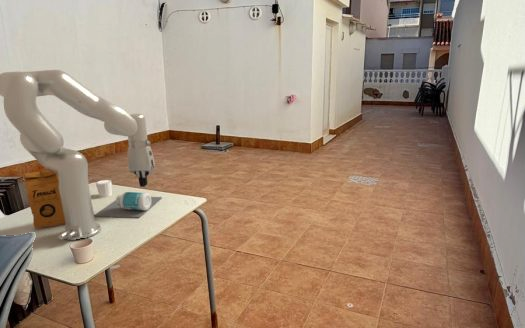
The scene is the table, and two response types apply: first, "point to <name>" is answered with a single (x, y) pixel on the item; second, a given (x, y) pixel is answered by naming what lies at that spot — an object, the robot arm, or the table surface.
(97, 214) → the mat
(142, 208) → the pill bottle
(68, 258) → the table surface
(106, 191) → the white ridged cylinder
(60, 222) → the coffee package
